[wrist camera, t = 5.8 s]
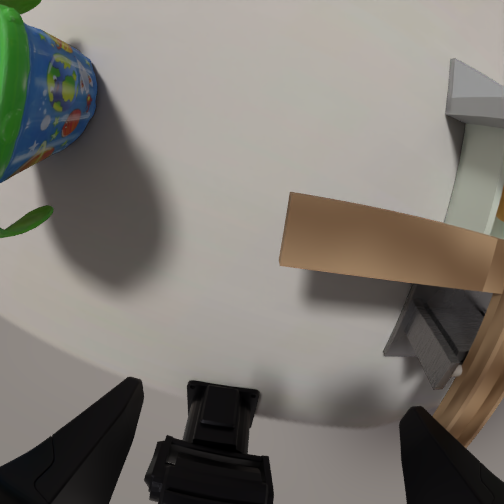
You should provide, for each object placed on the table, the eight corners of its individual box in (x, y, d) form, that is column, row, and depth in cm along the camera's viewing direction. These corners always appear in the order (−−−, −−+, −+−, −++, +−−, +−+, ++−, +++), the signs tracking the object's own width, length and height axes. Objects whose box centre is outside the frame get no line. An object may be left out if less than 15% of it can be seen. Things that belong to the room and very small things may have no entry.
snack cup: (22, 28, 12) (-69, 18, 3) (130, -15, 12) (44, -76, 3) (22, 205, 19) (-67, 257, 10) (125, 201, 19) (26, 272, 9)
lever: (452, 440, 18) (463, 461, 15) (240, 452, 18) (238, 483, 15) (544, 252, 13) (570, 265, 10) (289, 190, 13) (296, 198, 10)
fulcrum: (464, 350, 23) (494, 401, 16) (383, 351, 23) (407, 416, 16) (499, 281, 19) (544, 326, 13) (418, 268, 19) (466, 326, 13)
